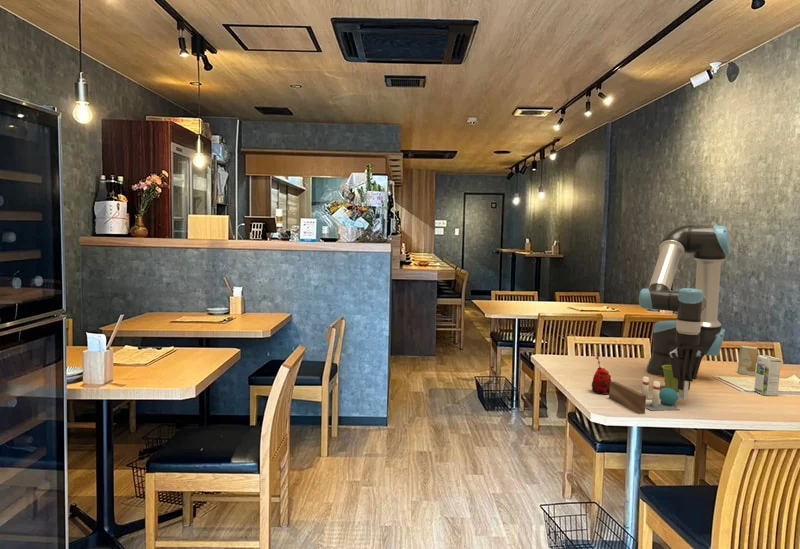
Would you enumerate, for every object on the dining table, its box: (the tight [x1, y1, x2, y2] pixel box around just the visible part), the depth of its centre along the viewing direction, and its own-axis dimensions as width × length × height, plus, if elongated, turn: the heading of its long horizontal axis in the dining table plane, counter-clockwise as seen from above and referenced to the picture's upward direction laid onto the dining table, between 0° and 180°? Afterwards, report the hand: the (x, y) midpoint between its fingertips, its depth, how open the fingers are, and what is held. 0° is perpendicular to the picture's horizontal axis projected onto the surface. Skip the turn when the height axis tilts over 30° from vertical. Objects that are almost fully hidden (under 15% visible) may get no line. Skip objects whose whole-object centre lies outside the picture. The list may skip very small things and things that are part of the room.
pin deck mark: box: [645, 397, 681, 412], centre depth 195 cm, size 11×13×1 cm
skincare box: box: [737, 345, 758, 377], centre depth 248 cm, size 6×4×12 cm
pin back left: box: [651, 380, 661, 408], centre depth 191 cm, size 2×2×9 cm
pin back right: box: [641, 375, 650, 400], centre depth 197 cm, size 2×2×9 cm
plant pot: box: [662, 365, 679, 392], centre depth 216 cm, size 9×9×9 cm
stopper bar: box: [608, 380, 646, 415], centre depth 193 cm, size 2×18×6 cm, turn 11°
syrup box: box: [753, 354, 782, 397], centre depth 215 cm, size 6×6×14 cm
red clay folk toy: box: [591, 352, 612, 395], centre depth 208 cm, size 8×7×15 cm
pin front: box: [645, 399, 661, 406], centre depth 193 cm, size 2×2×9 cm
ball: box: [659, 387, 679, 406], centre depth 195 cm, size 6×6×6 cm
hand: (682, 398), depth 197 cm, fingers closed
